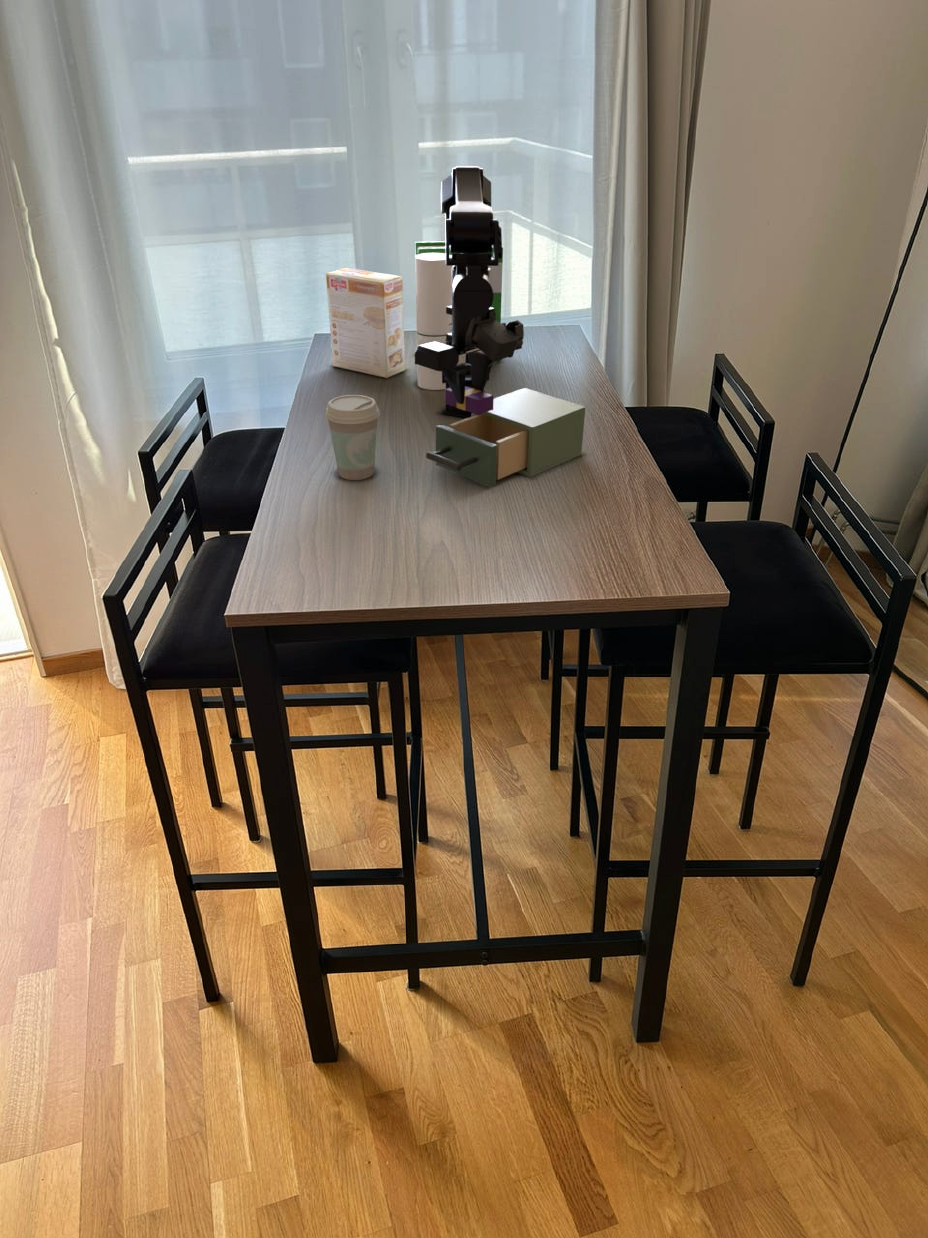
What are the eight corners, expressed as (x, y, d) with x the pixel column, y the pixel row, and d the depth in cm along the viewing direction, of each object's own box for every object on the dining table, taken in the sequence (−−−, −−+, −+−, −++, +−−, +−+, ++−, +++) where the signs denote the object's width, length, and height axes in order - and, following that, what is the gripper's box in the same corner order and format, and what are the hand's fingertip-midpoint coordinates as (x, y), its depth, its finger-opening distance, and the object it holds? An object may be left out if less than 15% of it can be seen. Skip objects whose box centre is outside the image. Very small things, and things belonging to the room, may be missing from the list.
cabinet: (530, 477, 146) (533, 427, 141) (470, 454, 154) (471, 406, 149) (581, 454, 154) (585, 406, 149) (522, 433, 162) (524, 387, 157)
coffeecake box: (406, 370, 192) (403, 275, 181) (386, 378, 187) (382, 282, 176) (351, 358, 199) (346, 266, 188) (331, 366, 194) (324, 272, 183)
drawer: (469, 496, 137) (469, 455, 134) (414, 473, 144) (413, 433, 141) (541, 465, 148) (544, 426, 144) (487, 444, 155) (488, 407, 151)
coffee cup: (341, 487, 142) (336, 415, 135) (322, 468, 148) (317, 398, 141) (390, 477, 145) (387, 406, 138) (370, 459, 151) (366, 390, 145)
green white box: (420, 364, 195) (418, 248, 182) (417, 354, 201) (415, 241, 188) (499, 362, 197) (503, 247, 184) (494, 352, 203) (497, 240, 190)
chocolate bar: (493, 409, 143) (493, 394, 142) (477, 415, 141) (477, 400, 139) (460, 398, 147) (460, 384, 146) (444, 403, 145) (444, 388, 144)
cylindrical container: (456, 380, 186) (457, 254, 173) (445, 391, 181) (444, 261, 167) (425, 376, 188) (423, 251, 174) (412, 387, 182) (409, 258, 169)
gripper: (464, 321, 125) (463, 427, 133) (550, 300, 136) (544, 399, 144) (411, 307, 131) (413, 409, 140) (497, 287, 142) (494, 383, 151)
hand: (469, 400), depth 143 cm, fingers closed on chocolate bar, 4 cm apart
